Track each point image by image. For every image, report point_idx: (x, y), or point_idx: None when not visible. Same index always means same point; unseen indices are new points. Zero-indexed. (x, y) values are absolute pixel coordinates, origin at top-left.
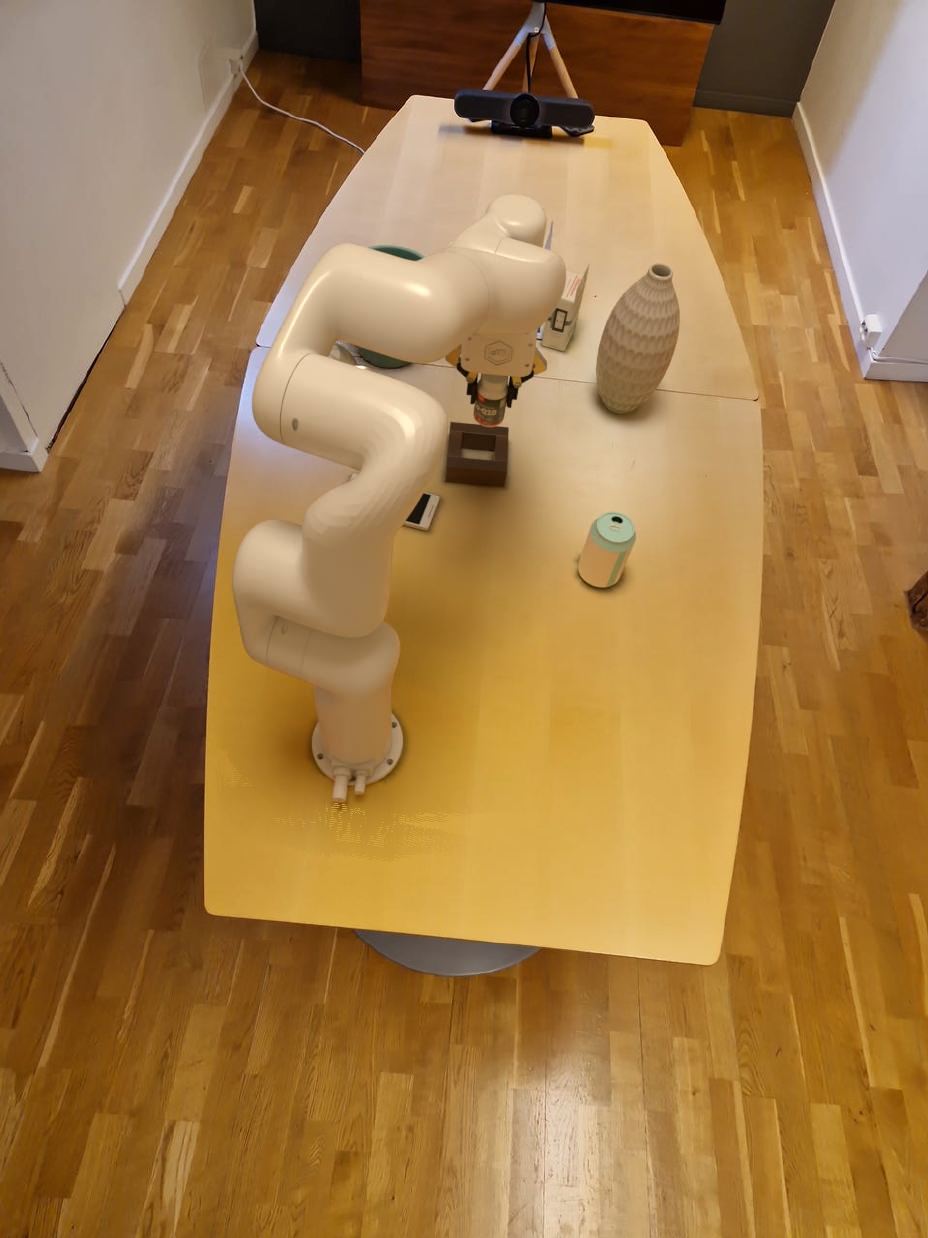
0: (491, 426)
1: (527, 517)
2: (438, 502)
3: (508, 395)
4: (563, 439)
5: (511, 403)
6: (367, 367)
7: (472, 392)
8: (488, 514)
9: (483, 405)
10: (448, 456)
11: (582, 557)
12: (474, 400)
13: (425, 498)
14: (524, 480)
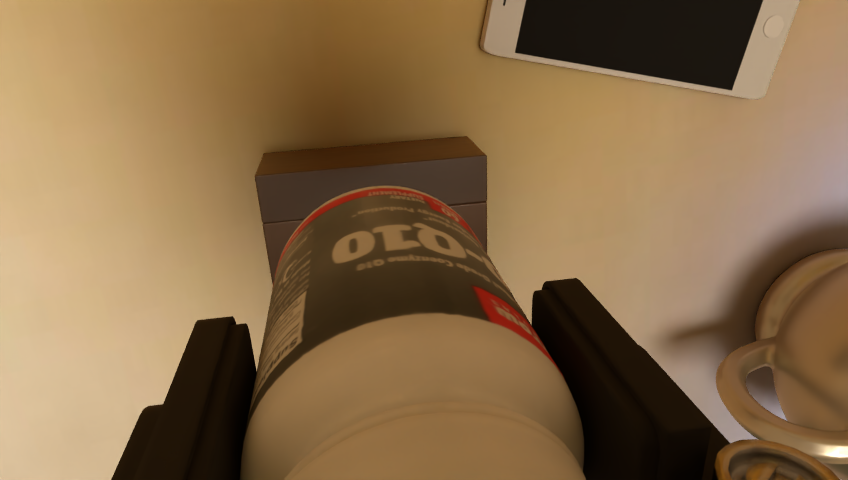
0: (350, 191)
1: (146, 25)
2: (483, 30)
3: (218, 413)
4: (106, 389)
5: (188, 349)
6: (844, 456)
7: (634, 350)
8: (297, 14)
9: (466, 271)
10: (483, 200)
11: None
12: (557, 303)
13: (532, 33)
14: (198, 197)
